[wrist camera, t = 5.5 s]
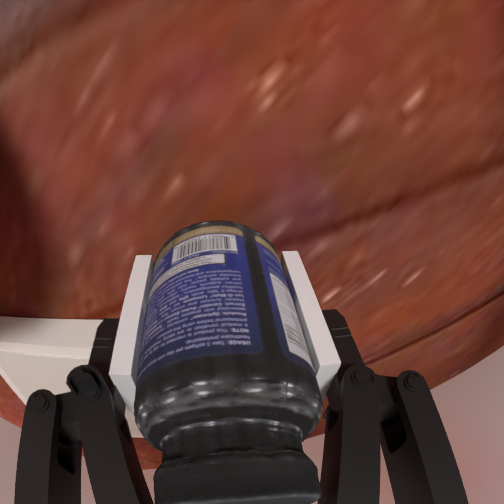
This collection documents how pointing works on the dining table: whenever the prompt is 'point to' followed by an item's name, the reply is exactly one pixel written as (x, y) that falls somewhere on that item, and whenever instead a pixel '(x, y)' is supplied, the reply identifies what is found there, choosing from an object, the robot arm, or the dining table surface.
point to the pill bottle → (226, 373)
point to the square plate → (46, 355)
